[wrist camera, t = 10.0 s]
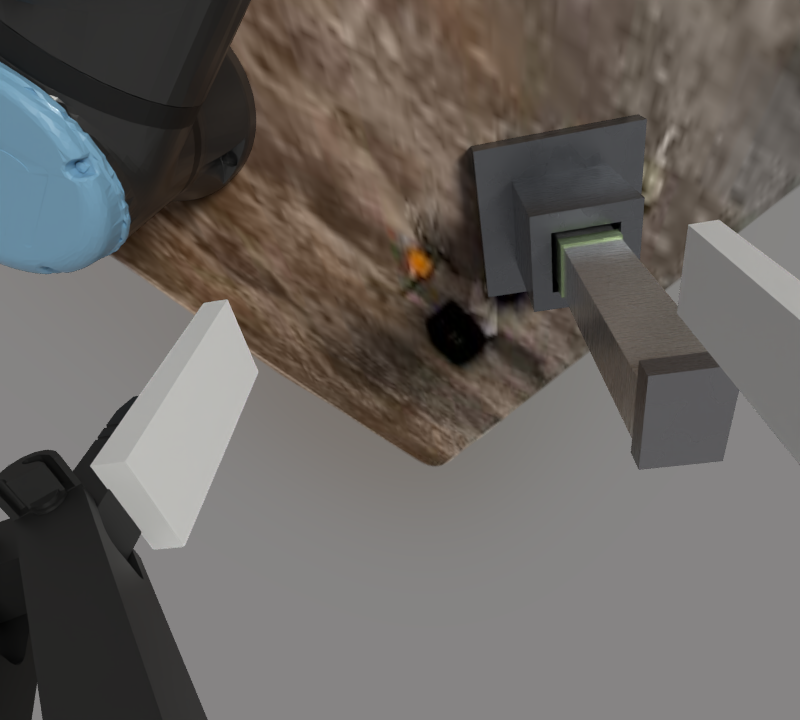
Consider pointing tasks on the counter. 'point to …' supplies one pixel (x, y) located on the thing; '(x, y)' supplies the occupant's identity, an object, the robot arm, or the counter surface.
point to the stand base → (555, 199)
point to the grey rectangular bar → (644, 351)
